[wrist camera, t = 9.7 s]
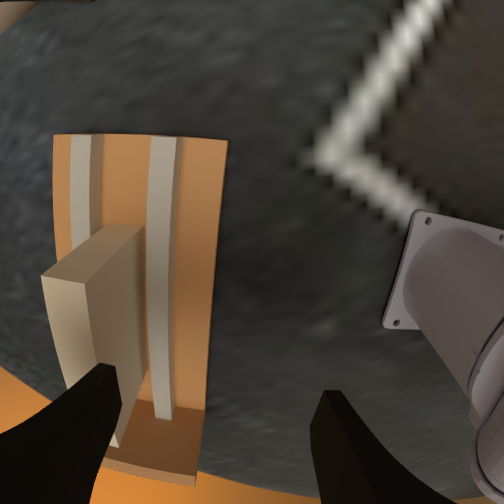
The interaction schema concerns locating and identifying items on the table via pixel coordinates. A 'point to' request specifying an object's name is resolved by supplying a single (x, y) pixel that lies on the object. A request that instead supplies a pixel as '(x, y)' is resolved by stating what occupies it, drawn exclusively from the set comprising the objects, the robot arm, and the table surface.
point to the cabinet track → (154, 274)
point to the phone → (77, 0)
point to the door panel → (101, 311)
